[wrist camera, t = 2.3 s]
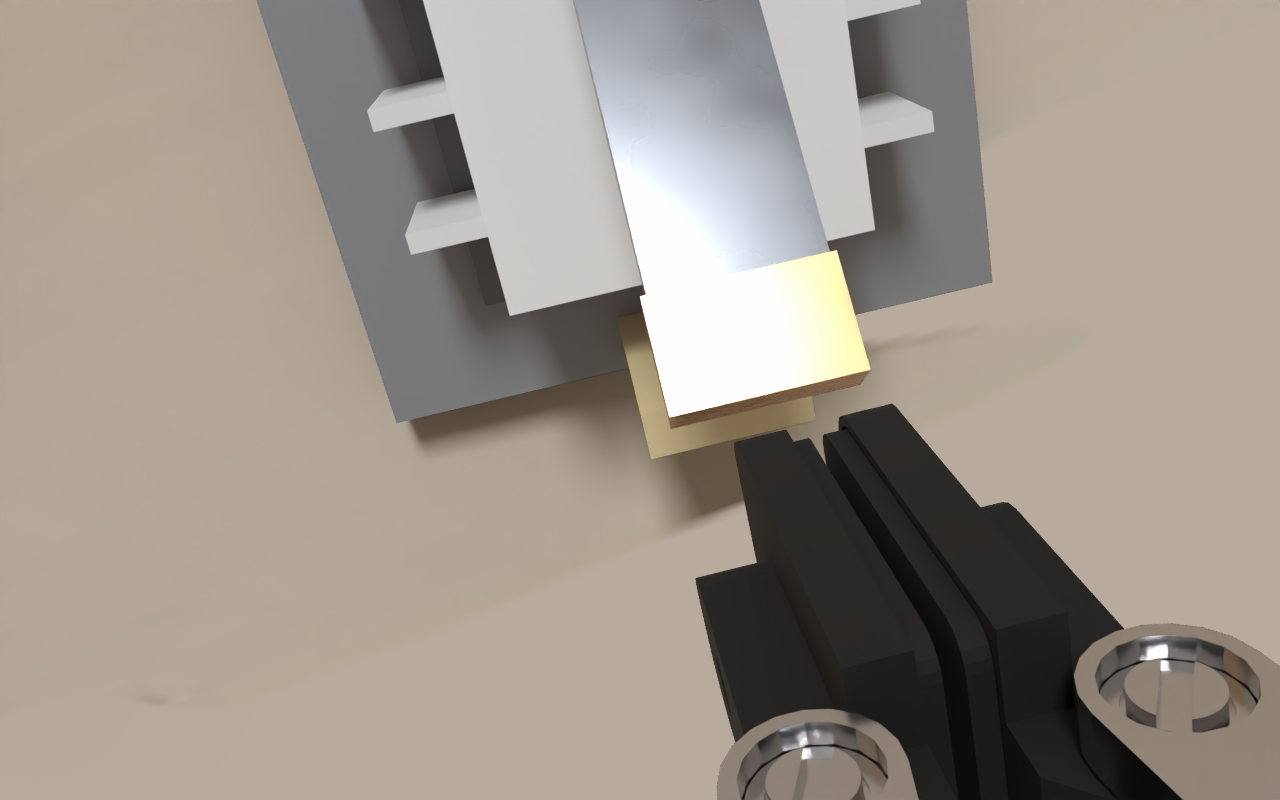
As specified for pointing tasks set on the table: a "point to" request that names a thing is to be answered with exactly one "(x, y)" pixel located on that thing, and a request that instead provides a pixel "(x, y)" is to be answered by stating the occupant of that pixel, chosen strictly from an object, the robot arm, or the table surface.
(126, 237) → the table surface
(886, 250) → the heatsink board
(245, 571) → the table surface
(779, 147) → the grey flat bar
